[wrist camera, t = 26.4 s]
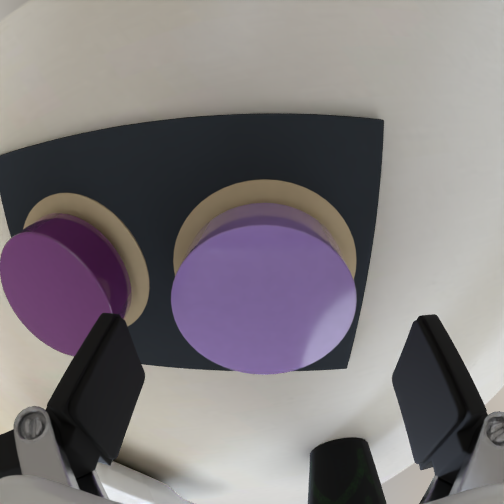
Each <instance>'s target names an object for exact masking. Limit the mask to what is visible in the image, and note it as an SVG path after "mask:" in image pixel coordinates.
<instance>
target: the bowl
mask: <svg viewBox="0 0 504 504" xmlns="http://www.w3.org/2000/svg"><path fill="white" fill-rule="evenodd" d="M95 470H96V472H97V474H98V476H99V479H100V481H101V483H102V485H103V487H104V490H105V492H106V494H107V496H108V498H109V500H112V501H116V502H119V503H123V504H195V503H192V502H190V501H187V500H185V499H183V498H182V497H181V496H180V495H178V494H177V493H176V492H175V491H174V490H173V489H172V488H171V487H170V486H168V485H166V484H164V483H162V482H160V481H158V480H156V479H153V478H151V477H149V476H147V475H144V474H142V473H140V472H138V471H135V470H133V469H130V468H128V467H126V466H123V465H121V464H119V463H116V462H114V461H112V463H111V466H109V465H106V464H103V463H99V462H98V463H97V466H96V469H95Z"/></svg>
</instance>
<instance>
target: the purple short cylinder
mask: <svg viewBox="0 0 504 504" xmlns="http://www.w3.org/2000/svg"><path fill="white" fill-rule="evenodd" d="M0 277H1V282H2V286H3V290H4V292H5V295H6V297H7V299H8V302H9V304H10V305H11V307H12V309H13V311H14V312H15V314H16V315H17V317H18V318H19V319H20V321H21V322H22V323H23V324H24V325H25V326H26V328H27V329H28V330H29V331H30V332H31V333H32V334H34V335H35V336H36V337H37V338H38V339H39V340H41V341H42V342H44V343H45V344H46V345H48V346H50V347H51V348H53V349H55V350H57V351H59V352H61V353H64V354H67V355H71V356H75V355H76V353H77V351H78V350H79V348H80V347H81V345H82V343H83V342H84V340H85V338H86V337H87V335H88V334H89V332H90V330H91V329H92V327H93V326H94V324H95V323H96V321H97V320H98V318H99V316H100V315H101V314H102V313H113V314H119V315H120V316H121V318H122V319H125V317H126V316H127V314H128V311H129V309H130V305H131V299H132V290H131V283H130V278H129V275H128V271H127V269H126V267H125V264H124V262H123V260H122V258H121V257H120V255H119V253H118V252H117V250H116V249H115V247H114V246H113V245H112V244H111V242H110V241H109V240H108V239H107V238H106V237H105V236H104V235H103V234H102V233H101V232H100V231H99V230H98V229H96V228H95V227H94V226H93V225H91V224H90V223H88V222H86V221H85V220H83V219H81V218H78V217H76V216H73V215H70V214H64V213H52V214H47V215H45V216H42V217H41V218H39V219H38V220H36V221H35V222H33V223H32V224H30V225H29V226H27V227H26V228H24V229H23V230H21V231H20V232H19V233H17V234H16V235H14V236H13V237H12V238H10V239H9V241H8V242H7V243H6V245H5V246H4V248H3V251H2V253H1V258H0Z"/></svg>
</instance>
